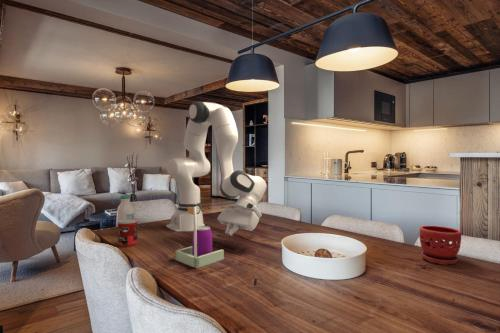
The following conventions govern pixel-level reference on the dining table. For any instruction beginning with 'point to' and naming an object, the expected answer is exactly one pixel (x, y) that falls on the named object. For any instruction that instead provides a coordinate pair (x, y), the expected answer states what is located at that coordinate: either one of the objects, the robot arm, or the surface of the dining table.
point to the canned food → (127, 232)
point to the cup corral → (186, 253)
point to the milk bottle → (125, 208)
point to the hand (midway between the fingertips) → (228, 234)
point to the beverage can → (202, 240)
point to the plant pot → (440, 244)
